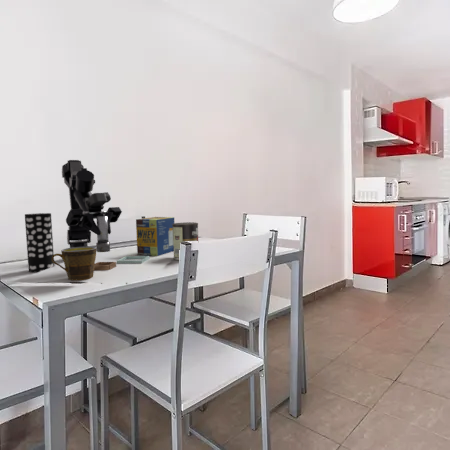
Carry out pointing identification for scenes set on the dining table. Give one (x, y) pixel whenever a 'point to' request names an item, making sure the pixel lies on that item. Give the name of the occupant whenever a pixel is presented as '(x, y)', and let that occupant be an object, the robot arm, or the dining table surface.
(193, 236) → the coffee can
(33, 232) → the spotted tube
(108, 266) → the socket block
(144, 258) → the tray
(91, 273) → the ceramic cup
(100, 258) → the dining table surface
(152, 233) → the protein box
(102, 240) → the grey cylinder
